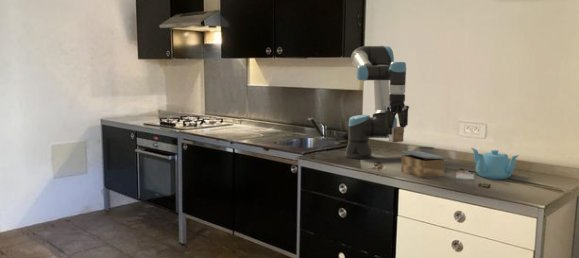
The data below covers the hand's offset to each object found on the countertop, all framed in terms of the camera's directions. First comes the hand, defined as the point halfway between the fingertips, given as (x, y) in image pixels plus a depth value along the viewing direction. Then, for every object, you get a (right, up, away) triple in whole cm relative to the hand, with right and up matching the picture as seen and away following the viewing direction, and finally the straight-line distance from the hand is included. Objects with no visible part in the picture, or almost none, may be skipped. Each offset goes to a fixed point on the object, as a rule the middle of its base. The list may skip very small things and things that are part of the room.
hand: (395, 140), depth 243 cm
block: (0, -1, 0) cm, 0 cm away
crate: (+11, -16, -8) cm, 21 cm away
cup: (+16, -14, +6) cm, 22 cm away
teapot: (+42, -17, -13) cm, 47 cm away
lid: (+11, -7, -10) cm, 16 cm away
